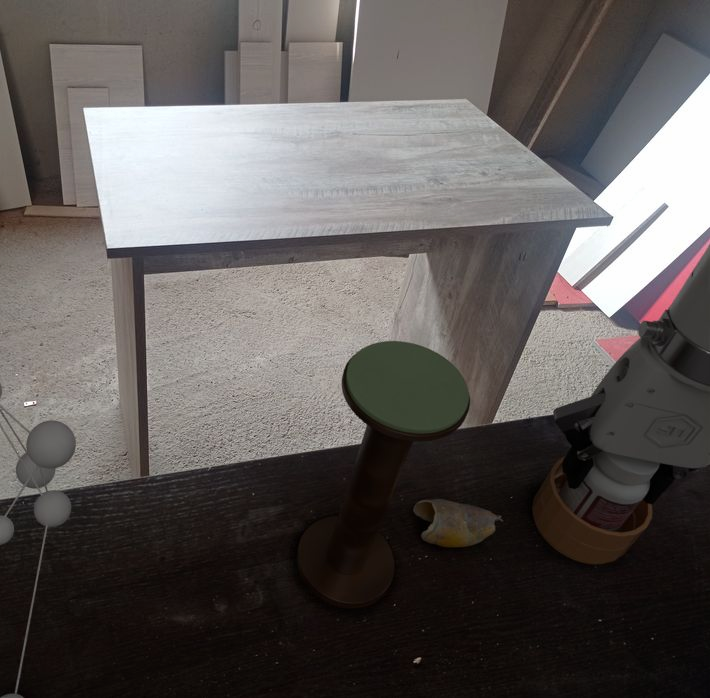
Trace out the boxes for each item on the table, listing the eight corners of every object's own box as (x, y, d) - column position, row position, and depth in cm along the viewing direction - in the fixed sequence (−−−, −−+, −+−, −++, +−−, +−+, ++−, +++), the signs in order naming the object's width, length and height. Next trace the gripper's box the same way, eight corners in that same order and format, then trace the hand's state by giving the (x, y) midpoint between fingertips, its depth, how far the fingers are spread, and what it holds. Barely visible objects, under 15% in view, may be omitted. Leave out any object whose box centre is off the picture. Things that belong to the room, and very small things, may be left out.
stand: (410, 561, 68) (492, 386, 51) (357, 629, 62) (430, 458, 46) (332, 505, 72) (386, 326, 55) (276, 564, 66) (317, 386, 50)
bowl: (638, 523, 73) (665, 491, 69) (606, 585, 68) (633, 554, 64) (552, 470, 77) (572, 438, 73) (515, 525, 72) (535, 493, 68)
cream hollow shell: (467, 503, 73) (498, 495, 70) (474, 549, 72) (507, 543, 68) (402, 502, 70) (431, 493, 66) (409, 550, 69) (439, 544, 65)
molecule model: (108, 486, 73) (151, 380, 60) (15, 754, 56) (49, 685, 43) (-29, 440, 71) (-13, 322, 59) (-169, 704, 54) (-190, 615, 41)
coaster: (488, 386, 51) (490, 382, 51) (429, 455, 46) (430, 451, 46) (387, 328, 55) (388, 324, 55) (321, 386, 50) (322, 382, 50)
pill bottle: (623, 529, 72) (681, 459, 64) (588, 559, 69) (643, 490, 61) (572, 485, 75) (620, 414, 67) (536, 513, 72) (582, 441, 65)
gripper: (602, 357, 53) (518, 498, 66) (845, 402, 52) (712, 536, 64) (586, 295, 59) (511, 436, 71) (805, 334, 58) (690, 470, 70)
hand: (607, 482), depth 68 cm, fingers closed on pill bottle, 6 cm apart
